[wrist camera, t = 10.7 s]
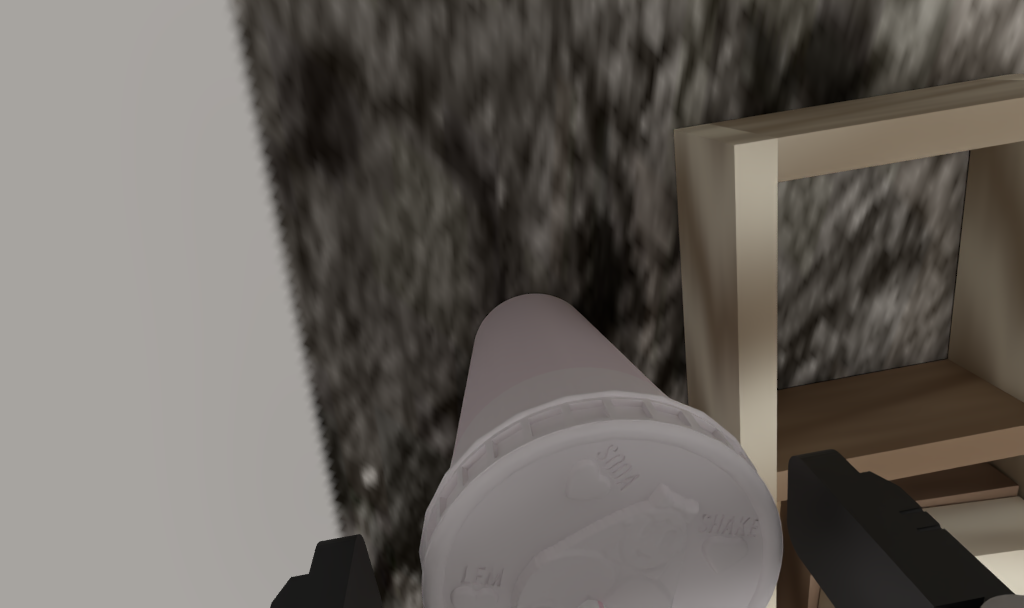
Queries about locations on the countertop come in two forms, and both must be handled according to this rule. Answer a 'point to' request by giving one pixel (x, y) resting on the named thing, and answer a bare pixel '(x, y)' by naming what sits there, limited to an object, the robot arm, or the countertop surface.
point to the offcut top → (984, 537)
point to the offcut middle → (928, 490)
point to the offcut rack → (753, 285)
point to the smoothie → (589, 483)
